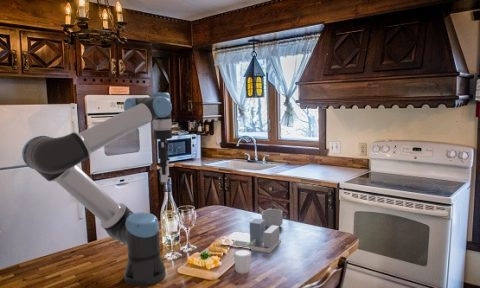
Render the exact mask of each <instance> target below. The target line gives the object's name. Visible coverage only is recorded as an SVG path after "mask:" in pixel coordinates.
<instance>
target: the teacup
mask: <svg viewBox="0 0 480 288" xmlns="http://www.w3.org/2000/svg"><path fill="white" fill-rule="evenodd" d="M283 213H284V212H283V211H282V210H281V209H278V208H267V209H265V210H263V211H261V219H262V220H265V228H267V229H268V228H269V227H270V226H272V225H275V226H279V227H280V226H282V224H283V222H284V221H283V220H284V219H283V218H284V217H283Z"/></svg>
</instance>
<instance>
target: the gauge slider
mask: <svg viewBox="0 0 480 288" xmlns="http://www.w3.org/2000/svg"><path fill="white" fill-rule="evenodd" d="M265 231H266V226H265V220H262V218H261V219H260V218H254V219H253V220H251V221H250V222H249V234H250V242H251V245H253V244H254V243H262V242H263V241H264V232H265Z"/></svg>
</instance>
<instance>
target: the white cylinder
mask: <svg viewBox="0 0 480 288" xmlns="http://www.w3.org/2000/svg"><path fill="white" fill-rule="evenodd" d="M251 251H252V250H249V249H243V248H240V249H237V250H235V251H233V259H234V266H235V267H234V269H235V271H236V272H237V273H238V274H247V273H249V272H250V271H251V261H252V252H251Z"/></svg>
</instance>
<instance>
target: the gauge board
mask: <svg viewBox="0 0 480 288" xmlns="http://www.w3.org/2000/svg"><path fill="white" fill-rule="evenodd" d="M227 237H229V238H230V239H232V241H233V245H236V246H242V247H249V248H250V249H251V250H250V251H256V252H262V253H268V254H269V253H270V254H271V252H272V251H273V250H274V249H275V248H276V247H277V246H279V244H280V243H281V242H282V238H281V237H280V226H275V225H272V226H270V227H269V228H267V229H265V232H264V241H263V242H262V243H254V244H253V245H251V242H250V233H247V232H246V233H245V232H240V231H239V232H238V231H233V232H232V233H231V234H229V235H228V236H227Z"/></svg>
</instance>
